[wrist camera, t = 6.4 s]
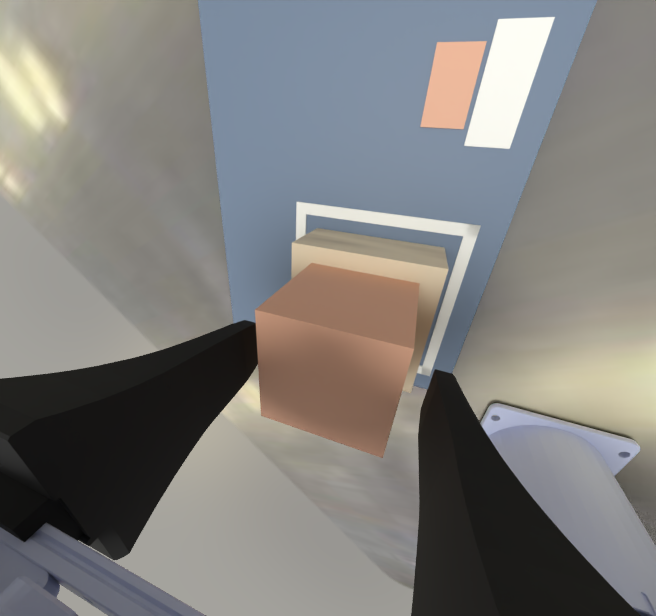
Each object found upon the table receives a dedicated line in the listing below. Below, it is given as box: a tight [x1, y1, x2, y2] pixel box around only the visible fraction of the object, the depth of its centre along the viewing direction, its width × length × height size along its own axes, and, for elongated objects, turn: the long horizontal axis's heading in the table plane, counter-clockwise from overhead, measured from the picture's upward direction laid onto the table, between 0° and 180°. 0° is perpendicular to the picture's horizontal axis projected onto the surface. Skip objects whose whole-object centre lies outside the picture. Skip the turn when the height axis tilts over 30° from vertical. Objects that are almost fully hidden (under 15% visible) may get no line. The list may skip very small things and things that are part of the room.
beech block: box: [291, 228, 449, 393], centre depth 15 cm, size 7×7×4 cm
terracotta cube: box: [255, 263, 420, 458], centre depth 11 cm, size 5×5×5 cm
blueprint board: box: [198, 0, 597, 389], centre depth 15 cm, size 20×16×1 cm
